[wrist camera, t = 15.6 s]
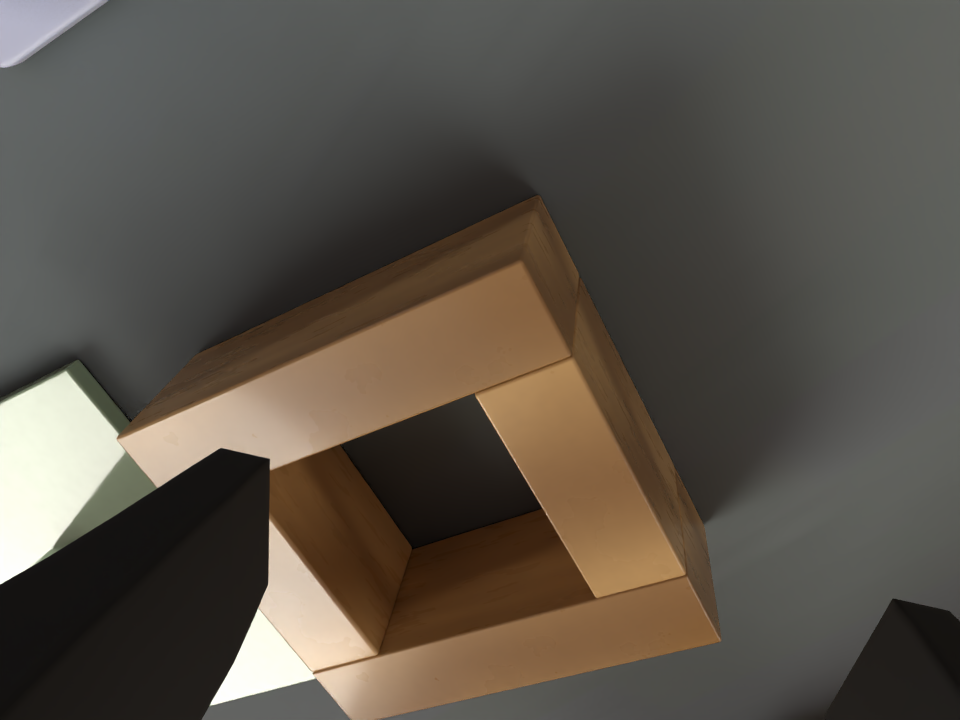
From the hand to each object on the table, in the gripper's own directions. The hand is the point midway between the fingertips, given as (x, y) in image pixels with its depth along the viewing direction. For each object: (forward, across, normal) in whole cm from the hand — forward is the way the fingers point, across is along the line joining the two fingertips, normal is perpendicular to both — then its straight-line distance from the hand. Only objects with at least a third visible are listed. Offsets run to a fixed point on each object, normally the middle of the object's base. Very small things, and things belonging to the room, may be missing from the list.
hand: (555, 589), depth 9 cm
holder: (+10, +2, +6) cm, 12 cm away
